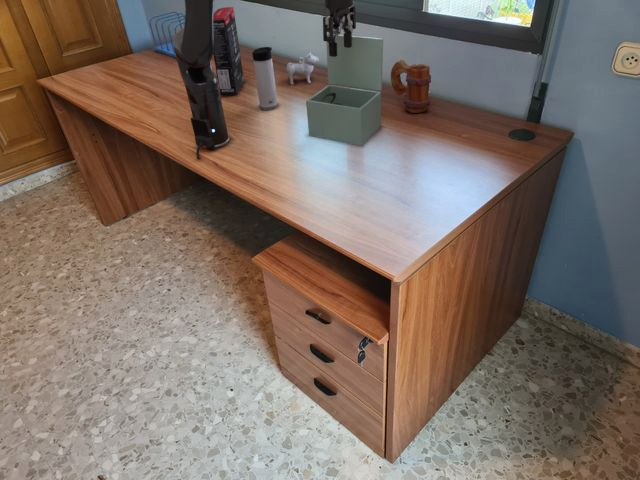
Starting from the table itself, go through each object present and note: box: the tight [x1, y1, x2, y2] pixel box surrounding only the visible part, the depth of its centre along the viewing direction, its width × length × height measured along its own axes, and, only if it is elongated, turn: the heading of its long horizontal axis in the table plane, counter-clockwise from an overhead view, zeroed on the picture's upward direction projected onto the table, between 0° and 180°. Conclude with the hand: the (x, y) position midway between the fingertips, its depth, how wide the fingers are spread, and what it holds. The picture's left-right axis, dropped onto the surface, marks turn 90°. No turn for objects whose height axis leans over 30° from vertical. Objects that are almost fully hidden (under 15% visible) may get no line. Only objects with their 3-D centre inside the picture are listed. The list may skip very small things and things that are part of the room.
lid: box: [325, 33, 384, 92], centre depth 143 cm, size 15×18×6 cm
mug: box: [390, 59, 432, 114], centre depth 154 cm, size 15×8×15 cm, turn 47°
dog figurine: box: [285, 51, 320, 85], centre depth 182 cm, size 5×13×11 cm, turn 95°
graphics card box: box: [213, 6, 245, 96], centre depth 176 cm, size 17×7×27 cm, turn 178°
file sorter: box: [148, 11, 185, 59], centre depth 225 cm, size 25×17×15 cm
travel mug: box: [251, 46, 279, 111], centre depth 161 cm, size 6×7×20 cm
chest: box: [305, 84, 382, 147], centre depth 145 cm, size 14×18×11 cm
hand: (340, 51), depth 132 cm, fingers open, 8 cm apart
